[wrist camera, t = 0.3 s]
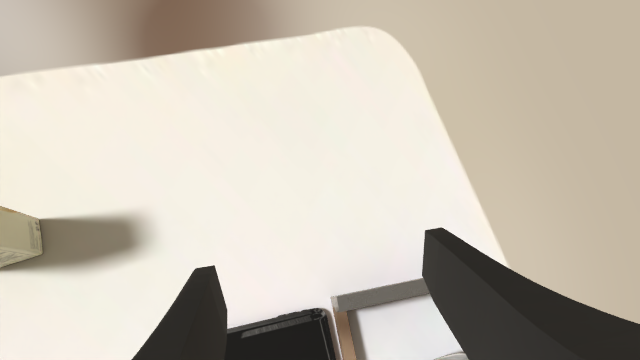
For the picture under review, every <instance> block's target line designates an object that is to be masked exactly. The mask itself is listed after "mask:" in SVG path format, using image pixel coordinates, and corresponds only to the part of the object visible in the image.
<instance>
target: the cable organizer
mask: <svg viewBox="0 0 640 360" xmlns="http://www.w3.org/2000/svg"><path fill="white" fill-rule="evenodd" d="M435 360H469V359H468V358H467V356H466V354H465V353H456V354H450V355H446V356H443V357H440V358H437V359H435Z"/></svg>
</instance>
